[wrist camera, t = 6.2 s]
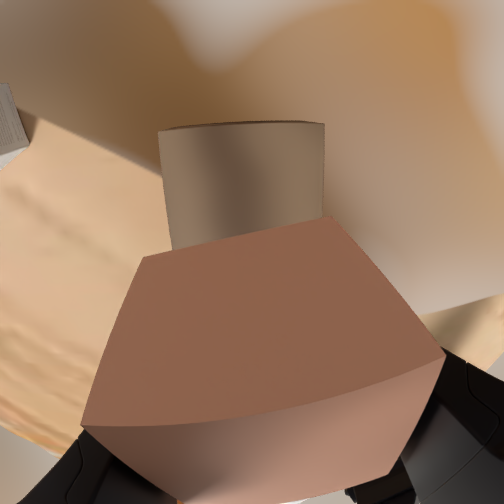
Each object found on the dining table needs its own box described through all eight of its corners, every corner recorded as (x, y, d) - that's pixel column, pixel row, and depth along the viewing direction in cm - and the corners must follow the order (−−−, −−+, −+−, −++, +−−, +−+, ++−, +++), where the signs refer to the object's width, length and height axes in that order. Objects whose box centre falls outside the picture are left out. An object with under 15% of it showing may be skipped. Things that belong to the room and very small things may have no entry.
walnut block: (299, 120, 18) (324, 123, 13) (299, 234, 21) (318, 268, 17) (174, 127, 17) (157, 131, 13) (186, 242, 21) (177, 278, 16)
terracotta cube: (331, 216, 8) (446, 356, 3) (337, 349, 10) (387, 474, 5) (143, 257, 8) (80, 424, 3) (198, 378, 10) (196, 511, 5)
